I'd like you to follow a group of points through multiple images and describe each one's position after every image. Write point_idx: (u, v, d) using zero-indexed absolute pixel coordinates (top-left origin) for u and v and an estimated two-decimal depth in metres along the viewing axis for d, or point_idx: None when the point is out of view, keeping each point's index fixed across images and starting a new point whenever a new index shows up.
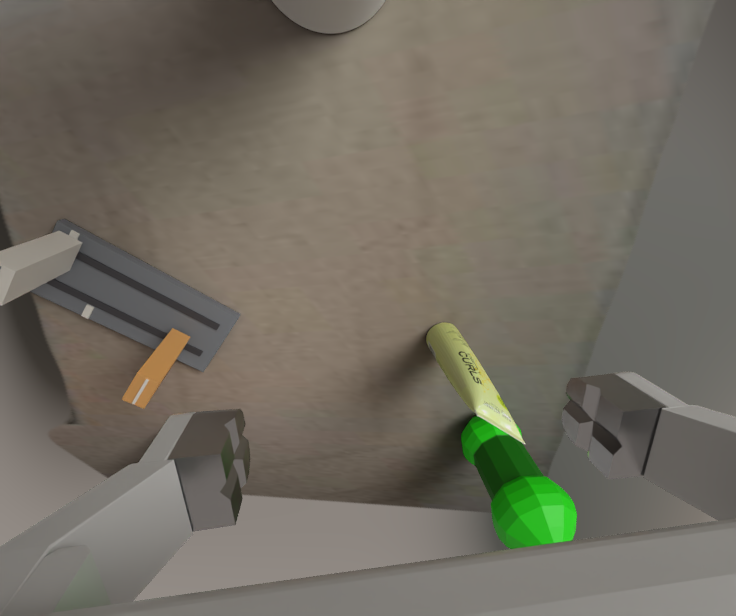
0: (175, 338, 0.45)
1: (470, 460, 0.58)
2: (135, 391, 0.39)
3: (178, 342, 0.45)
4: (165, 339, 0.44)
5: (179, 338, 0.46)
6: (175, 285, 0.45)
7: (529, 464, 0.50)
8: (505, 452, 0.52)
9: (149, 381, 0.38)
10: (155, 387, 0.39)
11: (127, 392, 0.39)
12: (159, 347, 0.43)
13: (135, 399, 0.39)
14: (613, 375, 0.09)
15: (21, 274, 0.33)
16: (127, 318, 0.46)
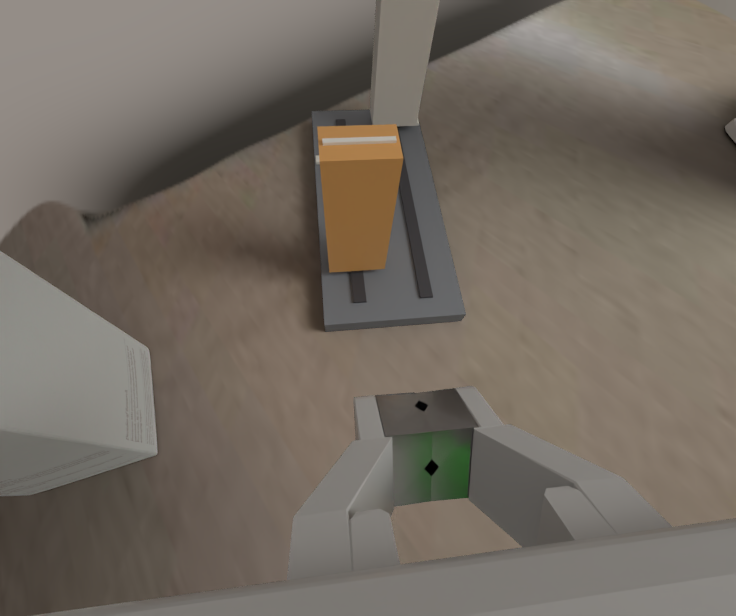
0: None
1: None
2: (351, 136, 0.18)
3: None
4: None
5: None
6: (440, 219, 0.29)
7: None
8: None
9: (393, 145, 0.18)
10: (387, 156, 0.17)
11: (341, 128, 0.18)
12: None
13: (336, 139, 0.18)
14: (452, 390, 0.08)
15: (425, 12, 0.25)
16: None
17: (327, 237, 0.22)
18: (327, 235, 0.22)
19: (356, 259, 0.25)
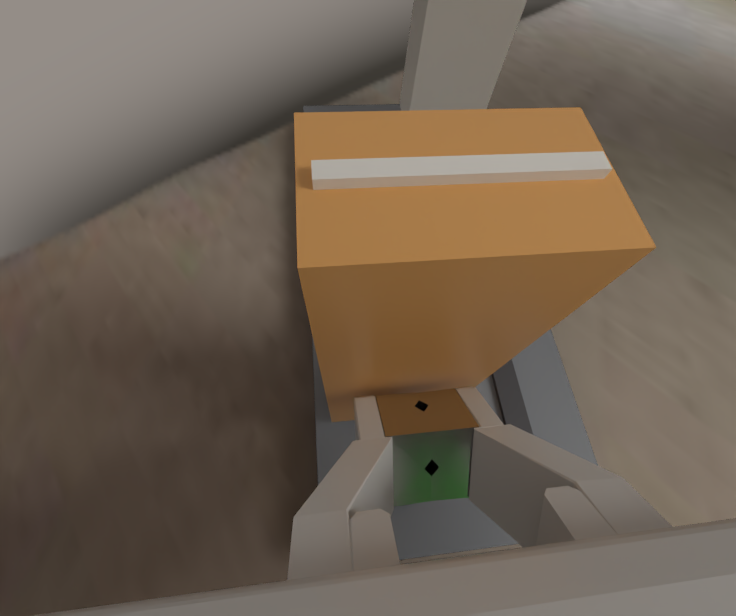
0: None
1: None
2: (429, 151, 0.05)
3: None
4: None
5: None
6: None
7: None
8: None
9: (594, 186, 0.04)
10: (587, 240, 0.04)
11: (383, 119, 0.05)
12: None
13: (372, 166, 0.04)
14: (452, 390, 0.08)
15: None
16: None
17: (328, 395, 0.09)
18: (328, 393, 0.09)
19: None
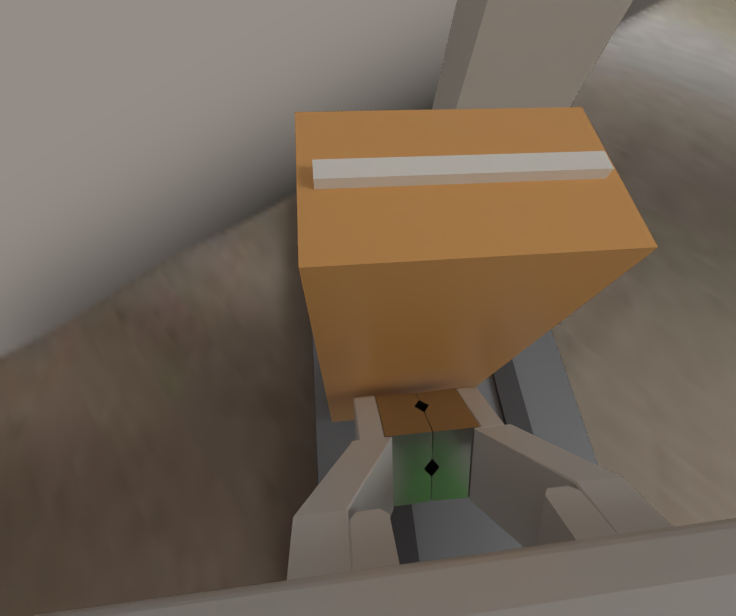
0: None
1: None
2: (430, 151, 0.05)
3: None
4: None
5: None
6: (586, 443, 0.13)
7: None
8: None
9: (595, 187, 0.04)
10: (588, 240, 0.04)
11: (384, 119, 0.05)
12: None
13: (373, 165, 0.04)
14: (453, 390, 0.08)
15: None
16: None
17: (329, 395, 0.09)
18: (329, 393, 0.09)
19: None
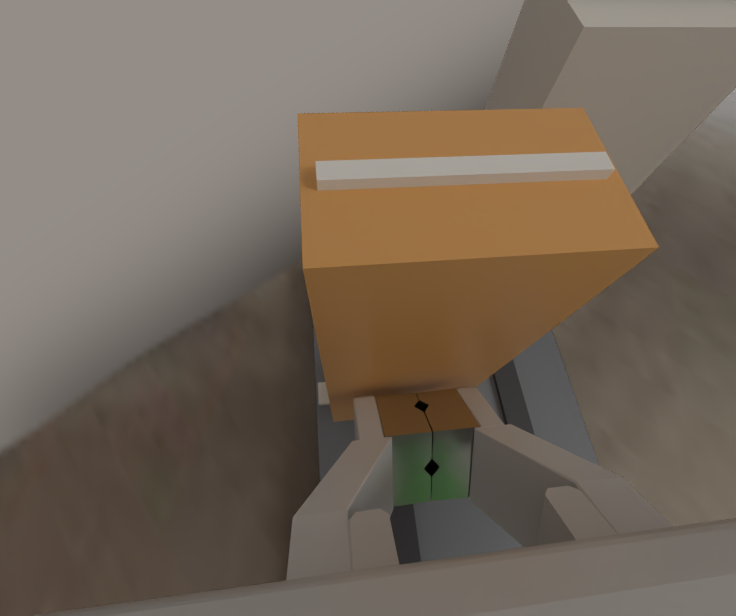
0: None
1: None
2: (432, 152, 0.05)
3: None
4: None
5: None
6: None
7: None
8: None
9: (597, 187, 0.04)
10: (590, 240, 0.04)
11: (387, 120, 0.05)
12: None
13: (376, 167, 0.04)
14: (453, 390, 0.08)
15: (696, 89, 0.07)
16: (402, 513, 0.12)
17: (330, 395, 0.09)
18: (330, 393, 0.09)
19: None
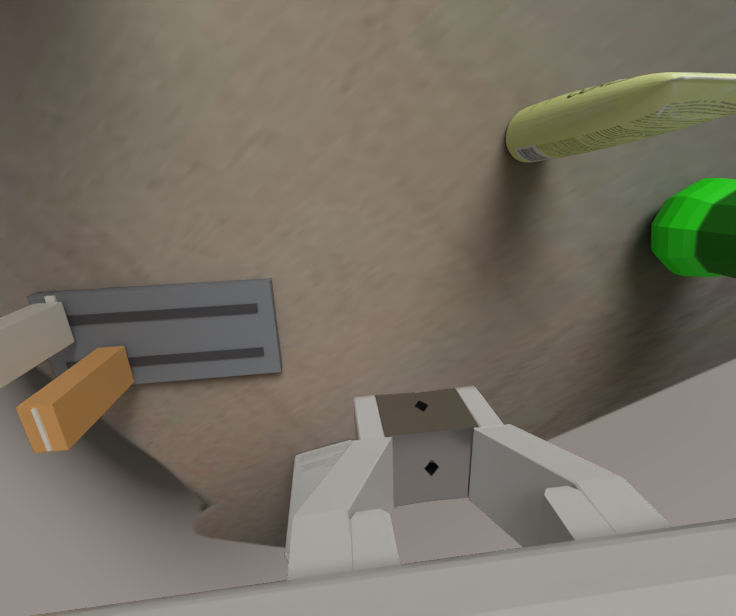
0: (98, 354, 0.34)
1: (694, 271, 0.36)
2: (38, 433, 0.27)
3: (102, 356, 0.33)
4: (81, 361, 0.33)
5: (105, 352, 0.34)
6: (179, 288, 0.35)
7: None
8: None
9: (39, 409, 0.26)
10: (53, 413, 0.26)
11: (31, 439, 0.27)
12: (67, 371, 0.31)
13: (45, 443, 0.27)
14: (452, 390, 0.08)
15: None
16: (164, 359, 0.37)
17: (111, 404, 0.33)
18: (110, 405, 0.33)
19: (121, 372, 0.35)
